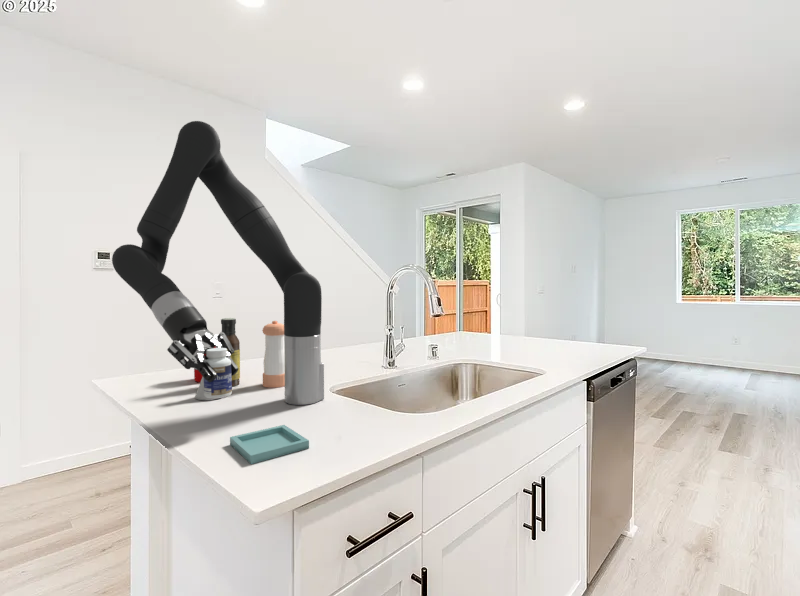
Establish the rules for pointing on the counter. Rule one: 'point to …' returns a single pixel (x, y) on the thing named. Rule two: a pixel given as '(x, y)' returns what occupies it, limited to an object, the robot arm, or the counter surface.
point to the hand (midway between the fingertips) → (224, 375)
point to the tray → (268, 443)
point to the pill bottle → (218, 374)
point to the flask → (202, 392)
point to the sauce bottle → (229, 331)
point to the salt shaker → (274, 355)
